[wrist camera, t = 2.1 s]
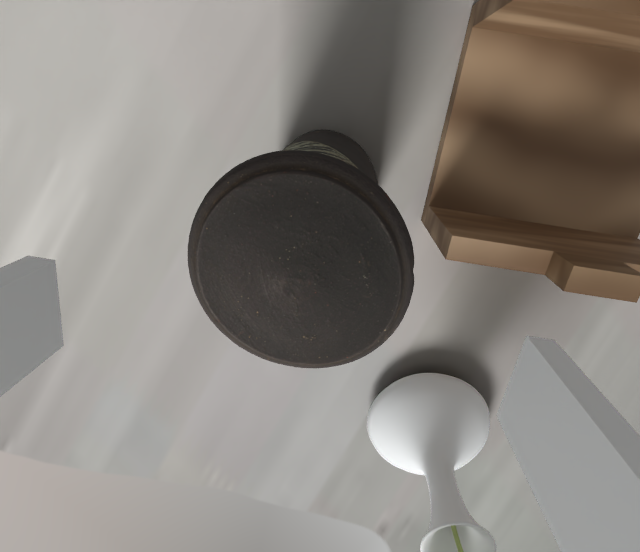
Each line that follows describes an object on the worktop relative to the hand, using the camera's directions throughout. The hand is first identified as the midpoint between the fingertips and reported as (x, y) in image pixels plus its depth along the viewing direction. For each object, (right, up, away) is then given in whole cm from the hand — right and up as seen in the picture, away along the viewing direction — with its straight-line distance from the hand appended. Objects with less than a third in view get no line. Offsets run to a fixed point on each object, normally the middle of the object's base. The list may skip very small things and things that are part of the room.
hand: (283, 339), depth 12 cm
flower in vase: (+11, -12, +30) cm, 34 cm away
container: (+2, +9, +22) cm, 24 cm away
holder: (+18, +12, +19) cm, 29 cm away
